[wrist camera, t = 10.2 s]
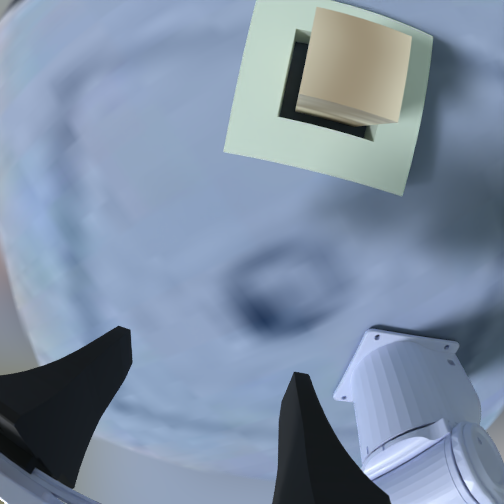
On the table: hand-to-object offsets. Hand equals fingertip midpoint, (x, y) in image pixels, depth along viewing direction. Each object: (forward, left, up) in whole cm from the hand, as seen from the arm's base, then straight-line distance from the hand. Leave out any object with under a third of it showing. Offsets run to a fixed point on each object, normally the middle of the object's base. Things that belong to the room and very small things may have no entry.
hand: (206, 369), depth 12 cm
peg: (-3, -13, -9) cm, 16 cm away
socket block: (-3, -13, -9) cm, 16 cm away
